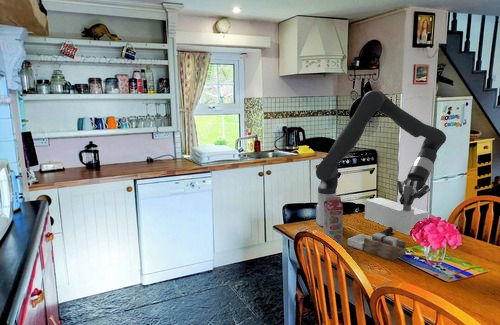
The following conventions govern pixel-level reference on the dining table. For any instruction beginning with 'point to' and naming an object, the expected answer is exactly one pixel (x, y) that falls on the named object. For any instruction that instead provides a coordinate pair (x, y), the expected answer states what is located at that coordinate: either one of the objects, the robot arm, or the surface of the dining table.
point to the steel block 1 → (378, 237)
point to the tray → (357, 241)
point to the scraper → (406, 209)
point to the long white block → (392, 214)
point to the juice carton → (333, 218)
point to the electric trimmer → (387, 231)
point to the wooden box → (385, 249)
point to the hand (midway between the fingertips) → (404, 204)
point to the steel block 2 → (391, 241)
